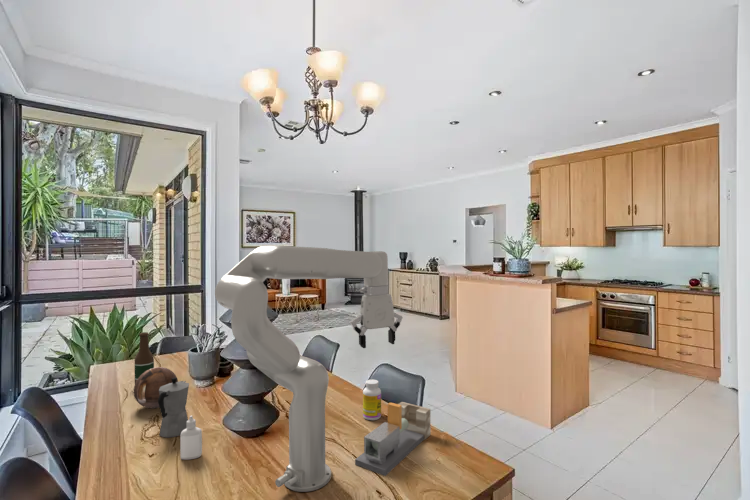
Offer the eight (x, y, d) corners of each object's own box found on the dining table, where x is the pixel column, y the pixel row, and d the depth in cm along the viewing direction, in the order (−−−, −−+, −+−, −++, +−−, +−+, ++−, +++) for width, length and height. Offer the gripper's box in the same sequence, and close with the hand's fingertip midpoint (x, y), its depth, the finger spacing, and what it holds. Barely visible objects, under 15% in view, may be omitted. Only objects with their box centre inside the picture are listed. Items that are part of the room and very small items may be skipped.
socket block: (425, 439, 123) (425, 413, 123) (395, 430, 129) (395, 405, 129) (430, 434, 126) (430, 408, 126) (401, 426, 132) (401, 401, 132)
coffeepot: (171, 422, 136) (170, 371, 136) (197, 422, 136) (197, 371, 136) (144, 444, 120) (144, 387, 120) (174, 444, 120) (174, 387, 120)
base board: (385, 476, 103) (385, 470, 103) (355, 464, 109) (355, 459, 109) (426, 437, 124) (426, 432, 124) (399, 429, 130) (399, 425, 130)
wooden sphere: (166, 396, 159) (165, 360, 159) (186, 404, 151) (185, 366, 151) (126, 408, 147) (126, 369, 147) (145, 418, 139) (145, 377, 138)
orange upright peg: (382, 452, 108) (382, 418, 108) (370, 448, 110) (370, 415, 110) (409, 429, 121) (409, 399, 121) (398, 426, 124) (398, 396, 123)
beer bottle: (158, 386, 171) (157, 332, 171) (139, 391, 165) (139, 335, 164) (148, 382, 175) (148, 330, 175) (130, 388, 169) (130, 333, 169)
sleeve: (379, 465, 106) (379, 442, 106) (364, 460, 108) (364, 436, 108) (399, 448, 115) (399, 426, 115) (384, 443, 118) (384, 422, 118)
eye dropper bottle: (193, 462, 110) (193, 420, 110) (177, 459, 112) (177, 418, 112) (204, 454, 115) (204, 414, 115) (189, 451, 116) (188, 411, 116)
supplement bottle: (379, 421, 136) (379, 385, 135) (361, 420, 137) (360, 384, 137) (382, 413, 142) (382, 379, 142) (365, 412, 143) (365, 377, 143)
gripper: (354, 294, 113) (355, 352, 114) (406, 290, 120) (407, 344, 120) (346, 291, 120) (347, 345, 121) (396, 287, 127) (397, 339, 127)
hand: (377, 345), depth 121 cm, fingers open, 9 cm apart
